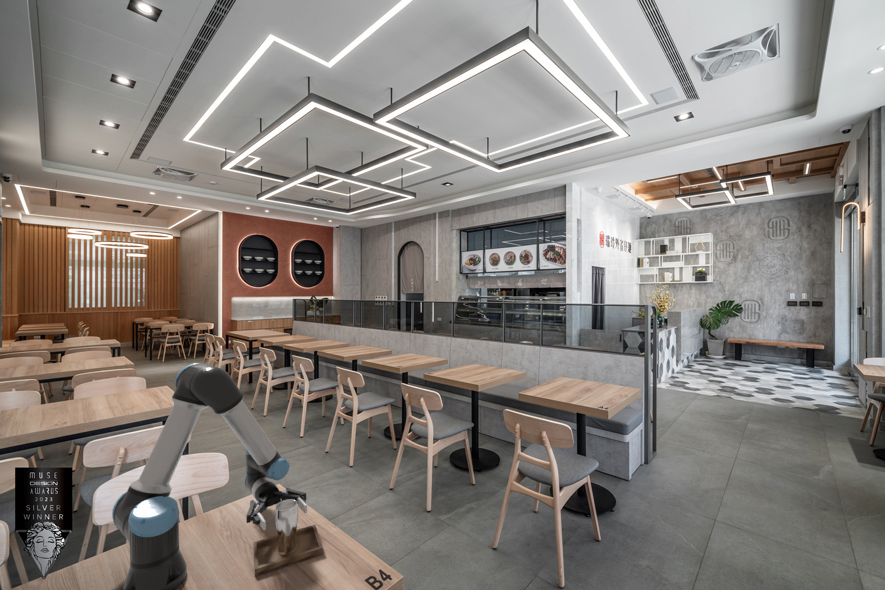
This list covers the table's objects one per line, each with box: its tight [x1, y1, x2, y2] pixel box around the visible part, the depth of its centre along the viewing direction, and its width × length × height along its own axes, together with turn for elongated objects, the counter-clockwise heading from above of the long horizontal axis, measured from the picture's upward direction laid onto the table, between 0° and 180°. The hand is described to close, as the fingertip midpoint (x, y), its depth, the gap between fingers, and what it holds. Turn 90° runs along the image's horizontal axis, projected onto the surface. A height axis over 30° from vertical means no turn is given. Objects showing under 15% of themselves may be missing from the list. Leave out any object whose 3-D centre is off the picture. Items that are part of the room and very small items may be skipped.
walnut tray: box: [252, 524, 324, 577], centre depth 127 cm, size 20×14×2 cm
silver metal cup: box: [274, 499, 299, 555], centre depth 126 cm, size 7×7×15 cm
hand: (286, 517), depth 128 cm, fingers open, 13 cm apart
